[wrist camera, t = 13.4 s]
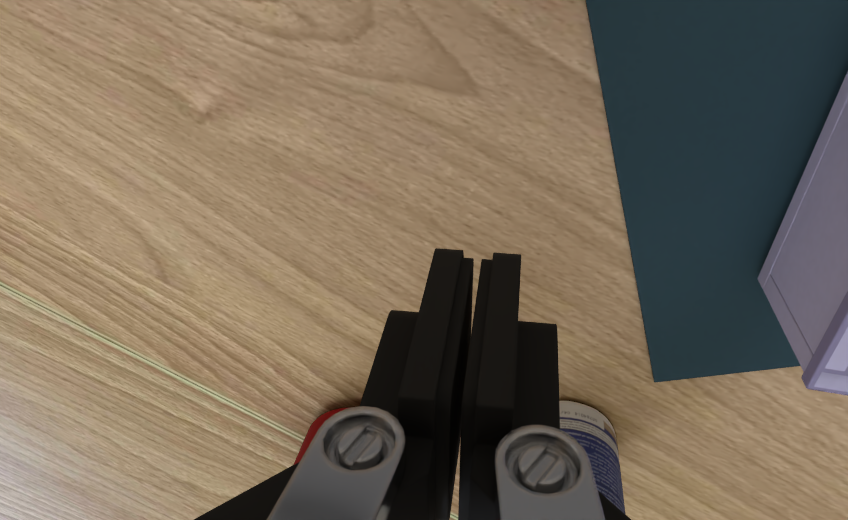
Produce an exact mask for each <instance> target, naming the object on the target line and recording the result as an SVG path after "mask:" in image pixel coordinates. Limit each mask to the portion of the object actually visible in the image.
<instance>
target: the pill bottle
mask: <svg viewBox="0 0 848 520" xmlns="http://www.w3.org/2000/svg"><path fill="white" fill-rule="evenodd" d="M559 408H560V430H562V431H564V432H566V433H567V434H569V435H570V436H572V437H573V438H575V439H576V440H577V441H578V442H579V443H580V444H581V446H582V447H583V448H584V449H585V451H586V453H587V455H588V457H589V460H590V462H591V466H592V470H593V474H594V478H595V482H596V486H597V489H598V491H599V492H600V493H602V494H603V495H604V496H605V497H606V498H607V499H608V500H609V501H611V502H612V503H613V504H614V505H615V506H616V507H617V508H618V509H620V510H621V511H622V512H623V513H624V514H625V507H624V498H623V489H622V481H621V472H620V465H619V455H618V447H617V440H616V435H615V431H614V428H613V427H612V425H611V423H610V422H609V420H608V419H607V418H606V417H605V416H604V415H603V414H601V413H600V412H599V411H598V410H596V409H594V408H592V407H589V406H587V405H584V404H581V403H577V402H572V401H559Z"/></svg>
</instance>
